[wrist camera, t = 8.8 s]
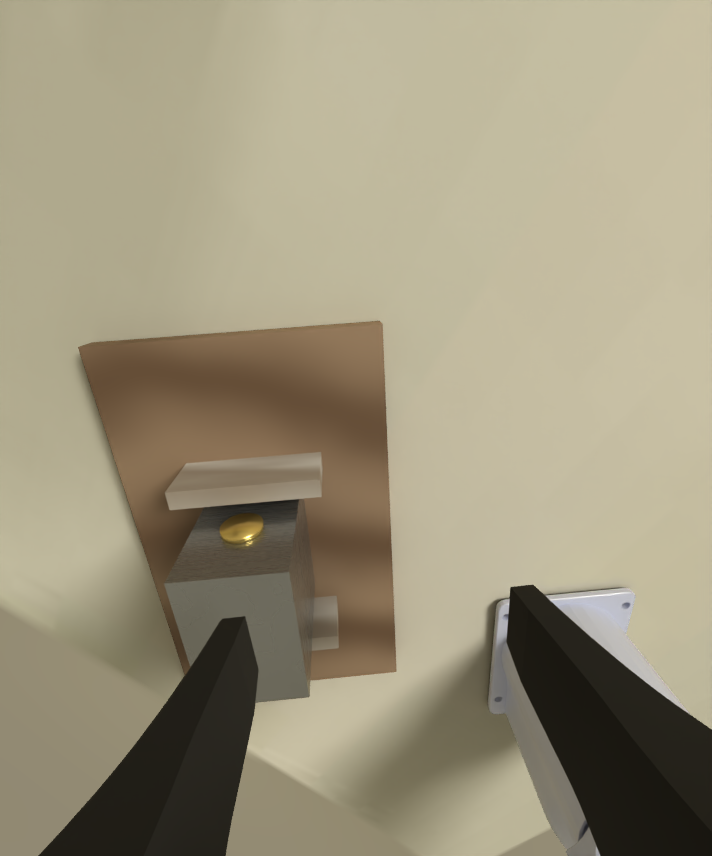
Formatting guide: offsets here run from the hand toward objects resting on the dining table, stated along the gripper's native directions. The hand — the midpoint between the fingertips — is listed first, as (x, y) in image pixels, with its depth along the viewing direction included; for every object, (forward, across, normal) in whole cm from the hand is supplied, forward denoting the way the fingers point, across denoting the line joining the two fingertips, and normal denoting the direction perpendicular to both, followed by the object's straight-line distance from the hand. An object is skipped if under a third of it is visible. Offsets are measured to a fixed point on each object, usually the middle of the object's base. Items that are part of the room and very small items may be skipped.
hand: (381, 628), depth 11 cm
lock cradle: (+9, +5, +3) cm, 11 cm away
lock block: (+8, +5, +3) cm, 10 cm away
